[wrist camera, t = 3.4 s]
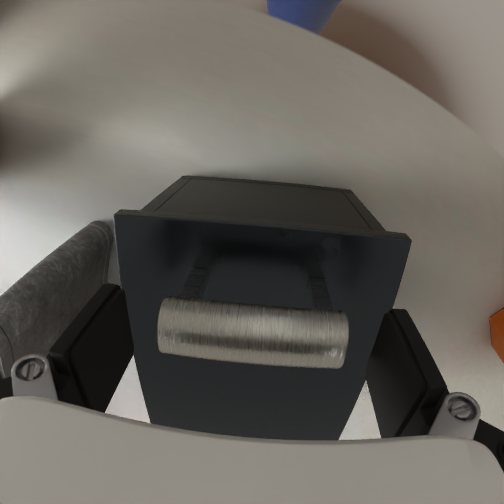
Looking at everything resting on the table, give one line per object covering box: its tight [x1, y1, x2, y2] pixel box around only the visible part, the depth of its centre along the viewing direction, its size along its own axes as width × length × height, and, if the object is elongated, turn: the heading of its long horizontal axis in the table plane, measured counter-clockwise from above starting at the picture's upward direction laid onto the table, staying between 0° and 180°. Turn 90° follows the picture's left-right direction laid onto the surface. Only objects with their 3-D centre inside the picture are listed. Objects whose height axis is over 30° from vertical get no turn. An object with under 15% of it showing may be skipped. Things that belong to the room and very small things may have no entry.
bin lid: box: [113, 209, 412, 441], centre depth 15 cm, size 19×13×5 cm
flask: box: [0, 221, 113, 380], centre depth 21 cm, size 4×14×18 cm, turn 168°
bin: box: [141, 176, 386, 231], centre depth 23 cm, size 18×13×11 cm
